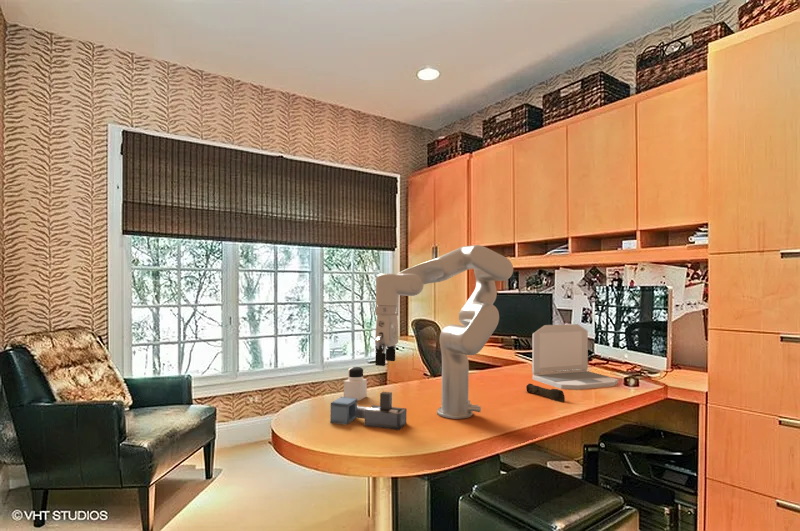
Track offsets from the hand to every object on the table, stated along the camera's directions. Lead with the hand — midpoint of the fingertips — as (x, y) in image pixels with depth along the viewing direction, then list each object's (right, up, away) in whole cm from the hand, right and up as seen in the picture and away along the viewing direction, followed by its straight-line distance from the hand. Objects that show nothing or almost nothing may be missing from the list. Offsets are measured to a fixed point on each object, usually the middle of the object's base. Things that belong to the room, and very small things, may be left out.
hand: (385, 363), depth 151 cm
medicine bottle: (-13, -21, +33) cm, 42 cm away
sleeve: (0, -20, 0) cm, 20 cm away
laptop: (+89, -24, +67) cm, 114 cm away
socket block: (-14, -20, +4) cm, 25 cm away
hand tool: (+65, -23, +38) cm, 79 cm away
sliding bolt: (-3, -19, +1) cm, 19 cm away
